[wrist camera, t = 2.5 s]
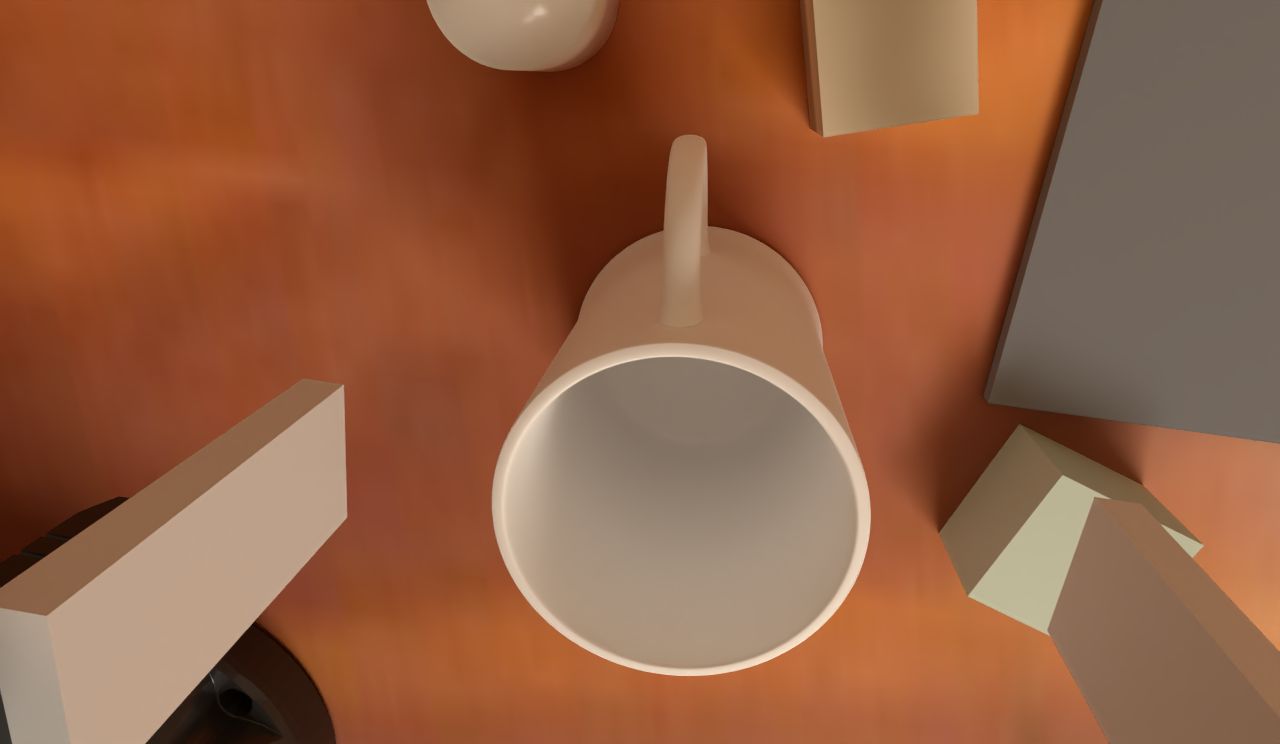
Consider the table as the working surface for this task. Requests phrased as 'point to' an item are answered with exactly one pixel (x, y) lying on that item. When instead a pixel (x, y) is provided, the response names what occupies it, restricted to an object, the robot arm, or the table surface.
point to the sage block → (1035, 524)
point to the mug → (686, 456)
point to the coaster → (1158, 228)
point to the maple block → (888, 62)
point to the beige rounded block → (526, 31)
